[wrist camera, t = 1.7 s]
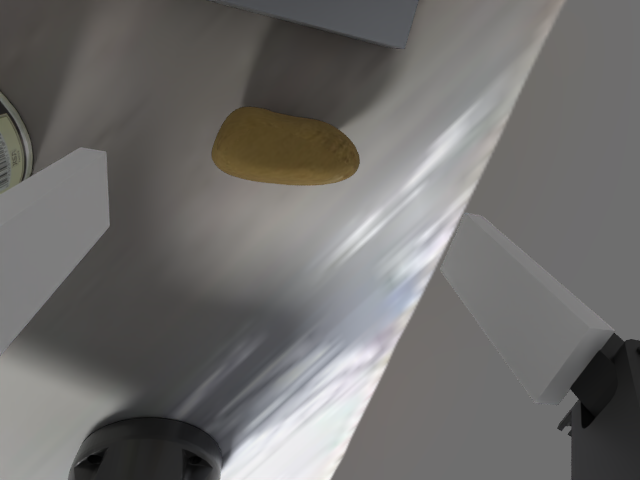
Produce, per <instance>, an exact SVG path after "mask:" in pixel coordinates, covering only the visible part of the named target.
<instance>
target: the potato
mask: <svg viewBox="0 0 640 480" xmlns="http://www.w3.org/2000/svg"><path fill="white" fill-rule="evenodd" d="M212 159H213V161H214V163H215V165H216V166H217V167H218V168H219V169H220V170H222V171H224V172H225V173H227V174H229V175H232V176H235V177H238V178H242V179H246V180H251V181H258V182H266V183H276V184H286V185H324V184H330V183H336V182H339V181H342V180H345V179H347V178H349V177H350V176H352V175H353V174H354V173H355V172H356V171H357V169H358V167H359V163H360V160H359V154H358V152H357V150H356V147H355V146H354V144H353V143H352V142H351V140H350V139H349V138H348V137H347V136H346V135H345V134H344V133H342V132H341V131H340V130H338V129H337V128H335V127H334V126H332V125H330V124H328V123H326V122H323V121H319V120H315V119H309V118H301V117H295V116H290V115H285V114H280V113H276V112H272V111H270V110H267V109H263V108H258V107H241V108H239V109H236V110H235V111H233V112H232V113H231V114H230V115H229V116H228V117H227V118H226V120H225V121H224V123H223V124H222V126H221V128H220V130H219V132H218V134H217V137H216V139H215V142H214V145H213V148H212Z"/></svg>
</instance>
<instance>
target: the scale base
mask: <svg viewBox="0 0 640 480" xmlns="http://www.w3.org/2000/svg"><path fill="white" fill-rule="evenodd" d="M208 1H212V2H216V3H220V4H223V5H227V6H231V7H235V8H239V9H243V10H247V11H250V12H254V13H258V14H262V15H266V16H270V17H273V18H277V19H281V20H285V21H289V22H293V23H296V24H300V25H304V26H308V27H312V28H316V29H320V30H323V31H327V32H331V33H335V34H339V35H343V36H346V37H350V38H354V39H358V40H362V41H366V42H369V43H373V44H377V45H381V46H385V47H389V48H398V49H405V46H406V43H407V39H408V36H409V32H410V29H411V25H412V22H413V18H414V15H415V12H416V8H417V5H418V1H419V0H208Z"/></svg>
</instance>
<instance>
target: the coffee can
mask: <svg viewBox="0 0 640 480" xmlns="http://www.w3.org/2000/svg"><path fill="white" fill-rule="evenodd" d="M32 163H33V153H32V146H31V141H30V138H29V135H28V132H27V130H26V127H25V125H24V123H23V121H22V120H21V118H20V116H19V114H18V112H17V111H16V109H15V108H14V107H13V106H12V105H11V104H10V102H9V101H8V99H7V98H6V97H5V96H4V95H3V94H2V93H1V92H0V194H2V193H4V192H5V191H7V190H9V189H10V188H12V187H14V186H15V185H17V184H19V183H21V182H22V181H24V180H26V179H27V178H29V177H30V174H31V173H32Z"/></svg>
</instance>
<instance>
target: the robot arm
mask: <svg viewBox="0 0 640 480" xmlns="http://www.w3.org/2000/svg"><path fill="white" fill-rule="evenodd" d="M109 227H110V216H109V195H108V174H107V153H106V151H100V150H94V149H89V148H83V147H80V148H78V149H77V150H75V151H73V152H71V153H70V154H68V155H66V156H65V157H63V158H61V159H60V160H58V161H56V162H54V163H53V164H51V165H49V166H48V167H46V168H44V169H43V170H41V171H39V172H38V173H36V174H34V175H32V176H31V177H29V178H27V179H26V180H24V181H22V182H21V183H19V184H17V185H15V186H14V187H12V188H10V189H9V190H7V191H5V192H4V193H2V194H0V356H1V354H2V353H3V352H4V351H5V350H6V349H7V347H8V346H9V345H10V344H11V343H12V341H13V340H14V339H15V338H16V337H17V336H18V334H19V333H20V332H21V331H22V330H23V328H24V327H25V326H26V325H27V324H28V323H29V321H30V320H31V319H32V318H33V317H34V315H35V314H36V313H37V312H38V311H39V310H40V308H41V307H42V306H43V305H44V304H45V302H46V301H47V300H48V299H49V298H50V297H51V295H52V294H53V293H54V292H55V291H56V289H57V288H58V287H59V286H60V285H61V283H62V282H63V281H64V280H65V279H66V278H67V276H68V275H69V274H70V273H71V272H72V270H73V269H74V268H75V267H76V266H77V265H78V263H79V262H80V261H81V260H82V259H83V257H84V256H85V255H86V254H87V253H88V252H89V250H90V249H91V248H92V247H93V246H94V244H95V243H96V242H97V241H98V240H99V239H100V237H101V236H102V235H103V234H104V233H105V231H106V230H107V229H108V228H109ZM440 271H441V272H442V274H443V275H444V276H445V278H446V279H447V281H448V282H449V284H450V285H451V286H452V288H453V289H454V291H455V292H456V293H457V295H458V296H459V298H460V299H461V300H462V302H463V303H464V305H465V306H466V307H467V309H468V310H469V312H470V313H471V315H472V316H473V317H474V319H475V320H476V321H477V323H478V324H479V326H480V327H481V328H482V330H483V331H484V333H485V334H486V336H487V337H488V338H489V340H490V341H491V343H492V344H493V345H494V347H495V348H496V350H497V351H498V353H499V354H500V355H501V357H502V358H503V360H504V361H505V362H506V364H507V365H508V366H509V368H510V369H511V371H512V372H513V374H514V375H515V376H516V378H517V379H518V381H519V382H520V383H521V385H522V386H523V388H524V389H525V390H526V392H527V393H528V394H529V396H530V398H531V399H532V400H533V402H534V403H536V404H552V405H558V404H559V403H560V402H561V400H562V399H563V398H564V397H565V395H566V394H567V393H568V391H569V390H570V389H571V390H572V391H573V392H574V394H575V395H576V396H577V397H578V399H579V400H578V401H577V402H576V403H575V405H574V406H573V407H572V409H571V410H570V411H569V412H568V413H567V415H566V416H565V417H564V418H563V420H562V421H561V422H560V423H559V426H558V429H559V430H561V431H562V430H563V428H564V427H565V426H572V429H571V431H570V432H569V433H568V435H569V436H571V437H572V446H571V448H572V452H571V453H572V456H571V457H572V459H571V461H572V462H571V466H572V468H571V469H572V471H571V472H572V476H571V477H572V478H571V479H572V480H640V341H638V340H633V339H630V340H626V341H625V342H624V341H623V340H622V339H621V338H620V337H618V336H617V335H616V334H615V333H614V332H615V330H614V329H613V328H611V327H610V326H609V325H608V324H607V323H606V322H605V321H604V320H602V319H601V318H600V317H599V316H598V315H597V314H595V313H594V312H593V311H592V310H590V309H589V308H588V307H587V306H586V305H585V304H584V303H583V302H582V301H580V300H579V299H578V298H577V297H576V296H575V295H573V294H572V293H571V292H570V291H569V290H567V289H566V288H565V287H564V286H563V285H562V284H560V282H558V281H557V280H556V279H555V278H554V277H552V276H551V275H550V274H549V273H548V272H547V271H545V270H544V269H543V268H542V267H541V266H540V265H539V264H538V263H536V262H535V261H534V260H533V259H532V258H531V257H529V256H528V255H527V254H526V253H525V252H524V251H522V250H521V249H520V248H519V247H518V246H517V245H516V244H514V243H513V242H512V241H511V240H510V239H509V238H507V237H506V236H505V235H504V234H503V233H502V232H500V231H499V230H498V229H497V228H496V227H495V226H493V225H492V224H491V223H490V222H489V221H488V220H487V219H485V218H484V217H483V216H482V215H476V214H470V213H465V214H464V216H463V218H462V221H461V223H460V225H459V228H458V230H457V232H456V234H455V237H454V239H453V241H452V244H451V246H450V248H449V250H448V253H447V255H446V257H445V259H444V262H443V264H442V266H441V269H440ZM221 466H222V454H221V451H220V448H219V447H218V445H217V443H216V442H215V441H214V440H213V439H212V438H211V437H210V436H209V435H207V434H206V433H205V432H203V431H201V430H200V429H198V428H196V427H193V426H191V425H188V424H185V423H182V422H178V421H174V420H168V419H160V418H139V419H130V420H125V421H120V422H117V423H113V424H110V425H108V426H105V427H103V428H101V429H99V430H97V431H96V432H94V433H93V434H91V435H90V436H89V437H88V438H87V439H86V440H85V441H84V442H83V444H82V445H81V447H80V449H79V451H78V453H77V455H76V457H75V460H74V462H73V464H72V466H71V469H70V472H69V476H68V480H220V475H221Z"/></svg>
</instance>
